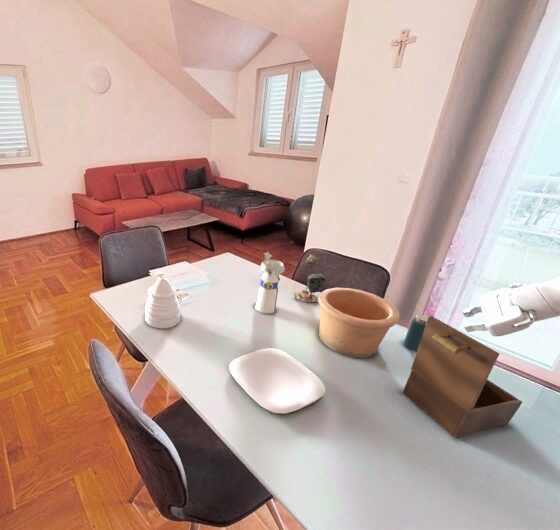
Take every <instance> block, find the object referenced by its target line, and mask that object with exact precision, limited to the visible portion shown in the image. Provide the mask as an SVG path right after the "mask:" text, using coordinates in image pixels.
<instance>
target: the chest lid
mask: <svg viewBox="0 0 560 530" xmlns="http://www.w3.org/2000/svg"><path fill="white" fill-rule="evenodd" d="M428 317H429V318H428V321H427V324H426V327H425V330H424V333H423V335H422V338H421V341H420V344H419V347H418V350H417V351H416V354H415V356H414V359H413V361H412V365H411V367H410V370H411V371H412V370H413V371H414V372H415V373H417V374H418V375H419V376H421V377H422V378H423V379H425V380H426V381H427V382H428V383H430V384H431V385H432V386H434V387H435V388H436V389H438V390H439V391H440V392H442V393H443V394H444V395H446V396H447V397H448V398H450V399H451V400H452V401H454V402H455V403H456V404H458V405H459V406H460V407H462V408H463V409H464V410H466V411H467V412H468V413H469V412H472V410H473V408H474V406H475V404H476V401H477V399H478V397H479V395H480V393H481V391H482V389H483V387H484V385H485V383H486V381H487V379H488V380H489V376H490V374H491V373H492V371H493V369H494V366H495V364H496V362H497V360H498V358H499V356H500V353H499V352H498V351H496V350H494V349H493V348H490V347H489V346H487V345H485V344H483V343H482V342H479V341H478V340H476V339H474V338H473V337H470V336H469V335H467V334H465V333H463V332H462V331H460V330H459V329H456V328H455V327H452V326H450V325H449V324H448V323H445V322H444V321H442V320H440V319H438V318H436V317H434V316H432V315H429V316H428Z"/></svg>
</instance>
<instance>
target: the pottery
mask: <svg viewBox="0 0 560 530" xmlns="http://www.w3.org/2000/svg"><path fill="white" fill-rule="evenodd" d="M317 302H318V305H319V306H320V317H319V330H318V334H319V339H320V340H321V341H322V342H323V343H324V345H326V347H328V348H330V349H331V350H332V351H334V352H337V353H339V354H341V355H344V356H348V357H353V358H367V357H371V356H373V355H374V354H375V353H376V352H377V350H378V348H379V347H380V345H381V344H382V342H383V340H384V338H385V336H386V335H387V334H388V331H389V330H390V328H393V327H394V326H395V325H397V324H398V323H399V321H400V311H399V310H398V309H397V307H396V306H395V305H394V304H393V303H391V302H389V301H388V300H387V299H386V298H383V297H381V296H378V295H377V294H374V293H372V292H371V293H370V292H367V291H364V290H362V289H355V288H350V287H332V288H327V289H324V290H323V292H321V291H320V294H319V296H318V298H317Z"/></svg>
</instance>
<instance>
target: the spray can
mask: <svg viewBox="0 0 560 530" xmlns="http://www.w3.org/2000/svg"><path fill="white" fill-rule="evenodd" d="M428 318H429V316H428V315H425V314H416V315H415V317H413V318H412V319H411V322H410V324H409V327H408V329H407V332H406V334H405V337H404V340H403V342H402V345H403V346H404V347H405V348H406V349H408V350H409V351H413V352H417V350H418V347H419V344H420V341H421V338H422V335H423V333H424V330H425V327H426V324H427V321H428Z"/></svg>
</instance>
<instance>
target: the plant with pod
mask: <svg viewBox="0 0 560 530" xmlns="http://www.w3.org/2000/svg"><path fill="white" fill-rule="evenodd" d="M317 261H318V257H316V256H315V255H313V254H309V256H308V257H307V258H306V260H305V262H304V265H306V264H310V270H309V274H308V276H307V279H306V281H307V285H306V289H305V290H304V289H302V290H300V292H295V296H294V299H296V300H298V301H302V302H306V303H310V302H317V296H316V295H315V293H321V292H323V291H325V290H326V276H325V275H324V274H322V273H314V274H312V269H313V265H315V264H316V263H317Z"/></svg>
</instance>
